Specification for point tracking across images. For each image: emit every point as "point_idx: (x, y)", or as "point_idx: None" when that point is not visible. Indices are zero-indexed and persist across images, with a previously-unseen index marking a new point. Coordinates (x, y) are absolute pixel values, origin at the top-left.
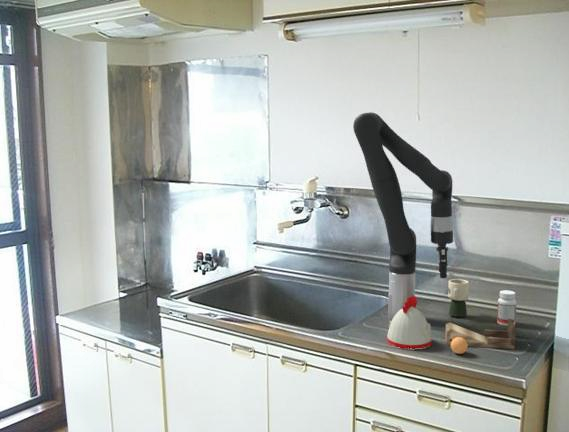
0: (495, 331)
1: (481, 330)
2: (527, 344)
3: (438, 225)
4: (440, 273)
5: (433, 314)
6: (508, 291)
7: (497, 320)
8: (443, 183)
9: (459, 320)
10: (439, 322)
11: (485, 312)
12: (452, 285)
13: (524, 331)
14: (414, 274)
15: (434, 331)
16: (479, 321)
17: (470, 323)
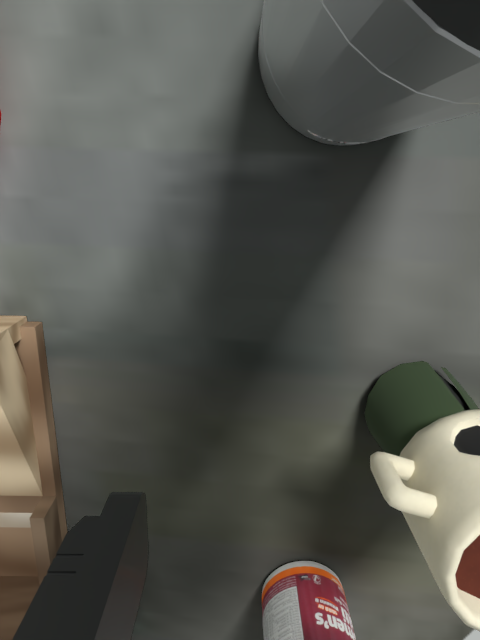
0: (36, 555)
1: (179, 485)
2: None
3: None
4: (90, 544)
5: (441, 272)
6: None
7: (299, 569)
8: None
9: (331, 404)
10: (283, 299)
11: None
12: (466, 502)
13: (200, 633)
14: (460, 62)
15: (110, 262)
16: (323, 491)
17: (284, 450)
